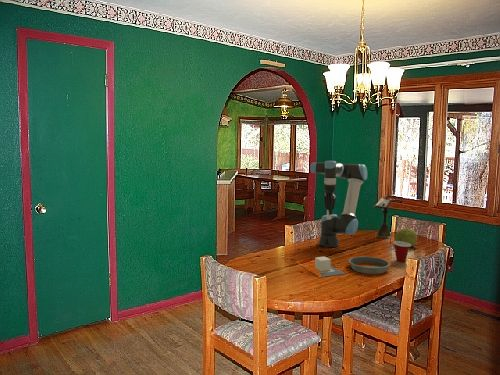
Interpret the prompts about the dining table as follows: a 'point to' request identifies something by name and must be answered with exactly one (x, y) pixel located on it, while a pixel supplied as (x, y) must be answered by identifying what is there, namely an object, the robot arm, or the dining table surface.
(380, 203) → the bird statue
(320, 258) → the cream block
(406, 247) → the plastic cup
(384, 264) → the cake pan
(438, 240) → the dining table surface
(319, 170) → the robot arm
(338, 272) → the blue-grey flat triangle
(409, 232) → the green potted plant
